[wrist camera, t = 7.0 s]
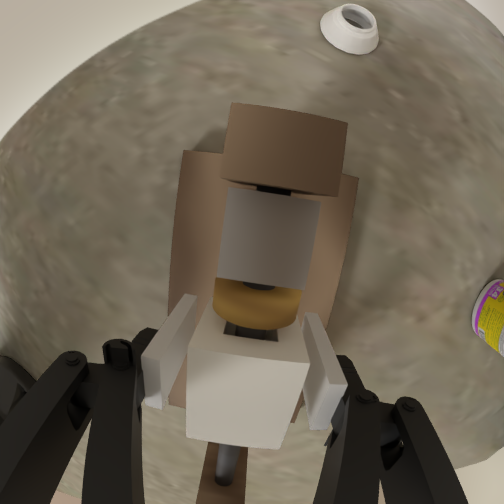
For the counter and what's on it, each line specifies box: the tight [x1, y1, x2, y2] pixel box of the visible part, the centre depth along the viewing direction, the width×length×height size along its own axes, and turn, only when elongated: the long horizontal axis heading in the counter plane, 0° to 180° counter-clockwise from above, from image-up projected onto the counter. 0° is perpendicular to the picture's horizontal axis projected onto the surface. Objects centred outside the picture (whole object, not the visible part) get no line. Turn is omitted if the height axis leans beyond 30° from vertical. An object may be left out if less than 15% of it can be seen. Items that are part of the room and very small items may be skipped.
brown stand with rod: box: [168, 103, 359, 504], centre depth 15 cm, size 12×22×13 cm, turn 172°
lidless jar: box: [320, 4, 379, 55], centre depth 14 cm, size 5×3×5 cm
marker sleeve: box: [186, 297, 310, 449], centre depth 11 cm, size 4×5×4 cm
